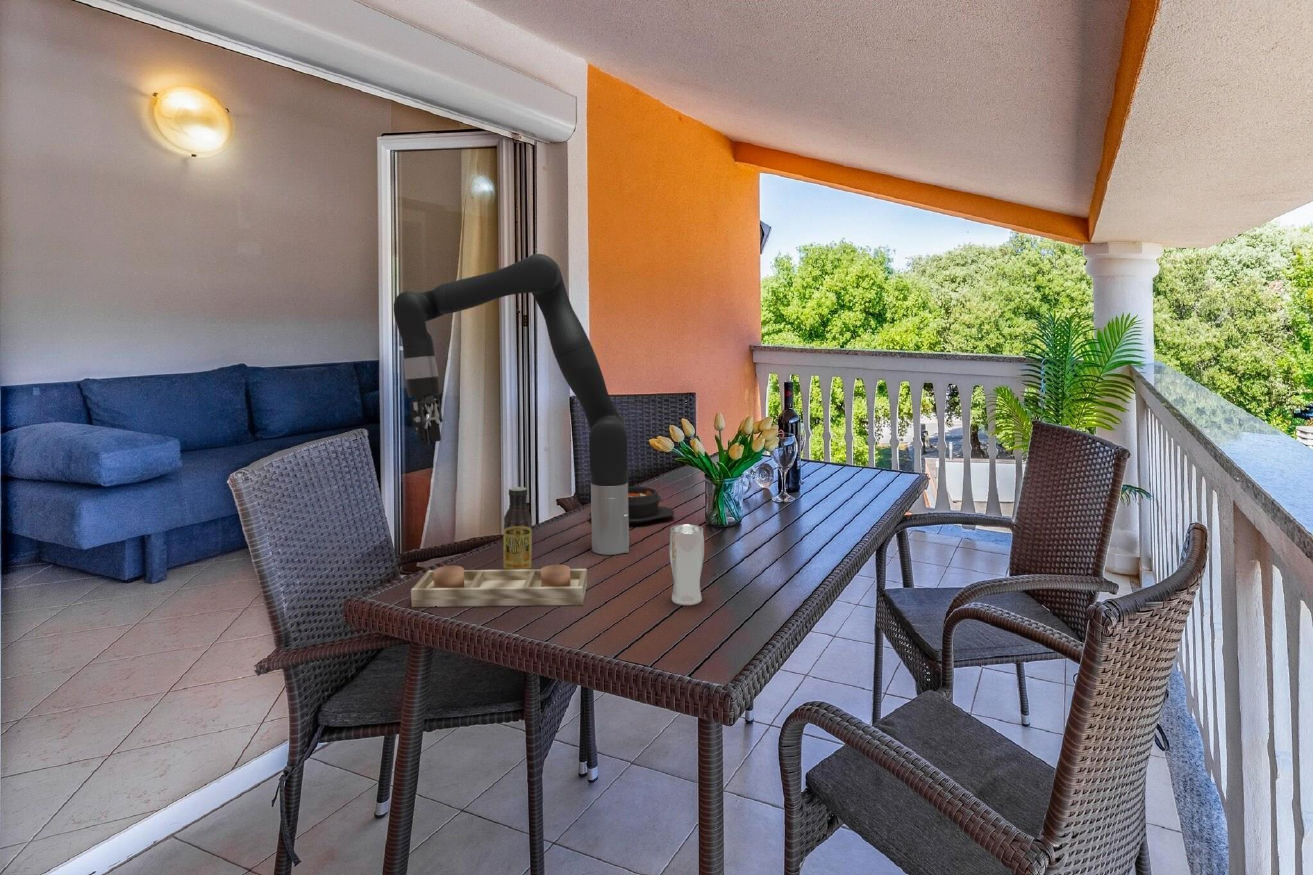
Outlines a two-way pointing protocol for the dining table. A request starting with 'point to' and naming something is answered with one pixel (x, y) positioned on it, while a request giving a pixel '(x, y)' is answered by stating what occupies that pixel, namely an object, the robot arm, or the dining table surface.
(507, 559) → the sauce bottle
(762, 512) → the dining table surface
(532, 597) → the rail
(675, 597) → the beer glass
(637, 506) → the casserole
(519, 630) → the dining table surface
